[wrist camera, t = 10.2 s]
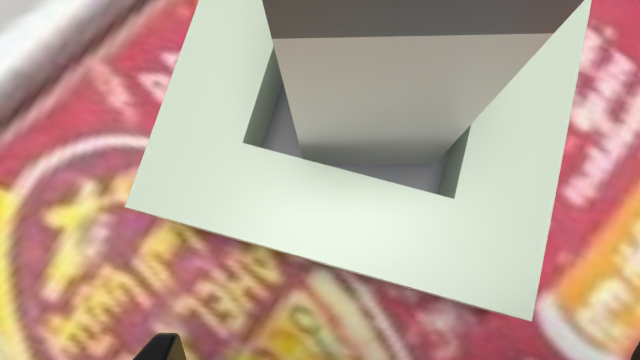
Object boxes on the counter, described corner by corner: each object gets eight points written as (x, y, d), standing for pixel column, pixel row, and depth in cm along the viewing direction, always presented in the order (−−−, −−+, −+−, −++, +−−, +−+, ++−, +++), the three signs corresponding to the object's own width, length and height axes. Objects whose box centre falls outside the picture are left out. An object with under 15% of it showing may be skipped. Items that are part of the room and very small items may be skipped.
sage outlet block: (488, 311, 18) (531, 321, 14) (167, 221, 19) (124, 206, 15) (549, 10, 20) (601, -53, 16) (262, -56, 21) (246, -131, 17)
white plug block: (434, 163, 18) (621, -42, 6) (304, 165, 18) (253, -33, 7) (428, 43, 19) (579, -325, 7) (304, 45, 19) (260, -313, 8)
